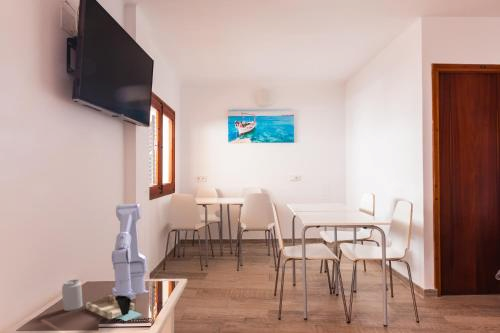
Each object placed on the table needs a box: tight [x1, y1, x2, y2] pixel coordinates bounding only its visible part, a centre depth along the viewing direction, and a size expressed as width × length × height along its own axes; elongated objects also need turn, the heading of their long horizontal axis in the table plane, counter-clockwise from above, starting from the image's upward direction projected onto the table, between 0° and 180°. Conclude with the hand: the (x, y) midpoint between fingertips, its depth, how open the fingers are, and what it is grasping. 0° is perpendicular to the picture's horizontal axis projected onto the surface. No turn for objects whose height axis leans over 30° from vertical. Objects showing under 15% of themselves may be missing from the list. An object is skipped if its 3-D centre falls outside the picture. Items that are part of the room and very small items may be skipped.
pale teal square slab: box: [114, 310, 143, 321], centre depth 138 cm, size 8×7×2 cm
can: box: [61, 278, 84, 311], centre depth 153 cm, size 8×8×12 cm
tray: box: [85, 294, 136, 320], centre depth 148 cm, size 20×11×3 cm, turn 49°
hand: (125, 314), depth 140 cm, fingers closed
